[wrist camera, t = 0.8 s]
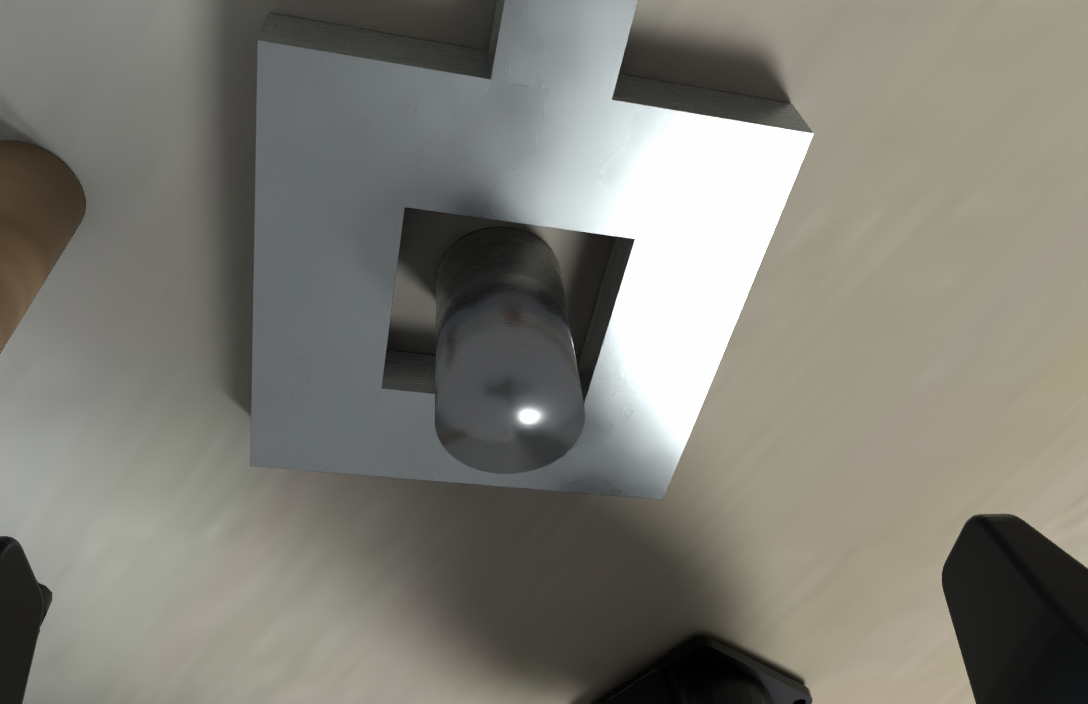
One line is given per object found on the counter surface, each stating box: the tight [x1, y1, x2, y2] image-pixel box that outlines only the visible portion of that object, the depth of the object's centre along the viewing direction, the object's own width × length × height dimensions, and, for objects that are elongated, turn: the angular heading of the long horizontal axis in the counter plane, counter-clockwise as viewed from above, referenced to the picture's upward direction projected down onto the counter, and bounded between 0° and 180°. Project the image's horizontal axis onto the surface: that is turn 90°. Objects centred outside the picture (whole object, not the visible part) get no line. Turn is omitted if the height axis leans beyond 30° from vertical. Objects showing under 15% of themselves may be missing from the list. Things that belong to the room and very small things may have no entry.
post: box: [435, 227, 585, 474], centre depth 20 cm, size 3×3×5 cm
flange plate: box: [250, 0, 814, 500], centre depth 19 cm, size 17×11×4 cm, turn 168°
